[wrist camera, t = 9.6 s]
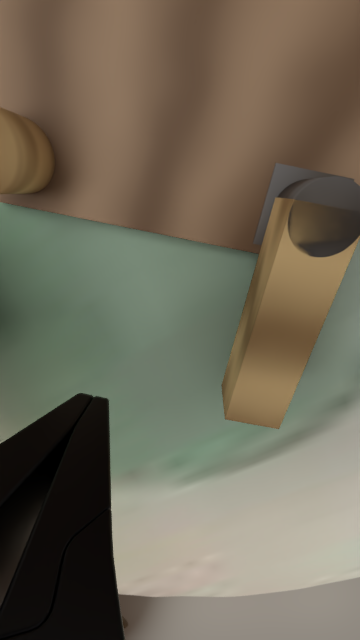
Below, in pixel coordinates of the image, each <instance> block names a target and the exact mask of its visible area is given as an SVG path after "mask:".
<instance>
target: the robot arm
mask: <svg viewBox="0 0 360 640" xmlns="http://www.w3.org/2000/svg"><path fill="white" fill-rule="evenodd" d="M0 640H125V636H124V629H123V622H122V616H121V609H120V602H119V596H118V589H117V581H116V573H115V565H114V557H113V541H112V514H111V476H110V431H109V400H108V399H107V398H103V397H98V396H95V397H93V396H92V395H89V394H84V393H79V394H77V395H75V396H74V397H72V398H70V399H69V400H67V401H66V402H64V403H63V404H61V405H60V406H58V407H57V408H55V409H54V410H52V411H50V412H49V413H47V414H46V415H44V416H43V417H41V418H40V419H38V420H37V421H35V422H33V423H32V424H30V425H29V426H27V427H26V428H24V429H23V430H21V431H20V432H18V433H16V434H15V435H13V436H12V437H10V438H9V439H7V440H6V441H4V442H3V443H1V444H0Z"/></svg>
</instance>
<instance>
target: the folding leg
mask: <svg viewBox="0 0 360 640" xmlns="http://www.w3.org/2000/svg"><path fill="white" fill-rule="evenodd" d="M359 238H360V186H359V185H358V184H357V183H356V182H354V181H353V180H350V179H348V178H345V177H339V176H332V177H322V178H312V179H303V180H299V181H296V182H294V183H292V184H290V185H289V186H287V187H286V188H285V189H284V190H283V191H282V192H281V193H280V194H279V195H278V197H275V200H274V204H273V207H272V211H271V214H270V218H269V221H268V225H267V228H266V232H265V235H264V239H263V242H262V246H261V249H260V253H259V256H258V260H257V263H256V267H255V270H254V274H253V277H252V281H251V284H250V288H249V291H248V295H247V298H246V302H245V305H244V309H243V312H242V316H241V319H240V323H239V326H238V330H237V333H236V337H235V340H234V344H233V347H232V351H231V354H230V358H229V361H228V365H227V368H226V372H225V375H224V379H223V382H222V394H223V404H224V414H225V419H227V420H232V421H238V422H243V423H249V424H254V425H260V426H265V427H271V428H276V429H279V428H280V425H281V423H282V421H283V418H284V416H285V413H286V411H287V409H288V406H289V404H290V402H291V399H292V397H293V395H294V392H295V390H296V387H297V385H298V383H299V380H300V378H301V376H302V373H303V371H304V369H305V366H306V364H307V361H308V359H309V357H310V354H311V352H312V350H313V347H314V345H315V343H316V340H317V338H318V335H319V333H320V331H321V328H322V326H323V324H324V321H325V319H326V317H327V314H328V312H329V309H330V307H331V305H332V302H333V300H334V298H335V295H336V293H337V290H338V288H339V286H340V283H341V281H342V279H343V276H344V274H345V272H346V269H347V267H348V264H349V262H350V260H351V257H352V255H353V253H354V250H355V248H356V246H357V243H358V241H359Z"/></svg>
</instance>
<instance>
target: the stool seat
mask: <svg viewBox="0 0 360 640" xmlns="http://www.w3.org/2000/svg"><path fill="white" fill-rule="evenodd" d="M332 176H339V177H345V178H348V179H350V180H353V181H354V182H356V183H357V184H358V185H359V186H360V0H0V202H3V203H8V204H13V205H18V206H23V207H28V208H33V209H38V210H43V211H48V212H53V213H58V214H63V215H68V216H73V217H78V218H83V219H88V220H93V221H98V222H103V223H108V224H113V225H118V226H123V227H128V228H133V229H138V230H143V231H148V232H153V233H158V234H163V235H168V236H173V237H178V238H183V239H188V240H193V241H198V242H202V243H207V244H212V245H217V246H222V247H227V248H232V249H237V250H242V251H247V252H252V253H257V254H259V253H260V249H261V246H262V242H263V239H264V235H265V232H266V228H267V225H268V221H269V218H270V214H271V211H272V207H273V204H274V200H275V197H278V195H279V194H280V193H281V192H282V191H283V190H284V189H285V188H286V187H287V186H289V185H290V184H292V183H294V182H296V181H299V180H303V179H312V178H322V177H332Z"/></svg>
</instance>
